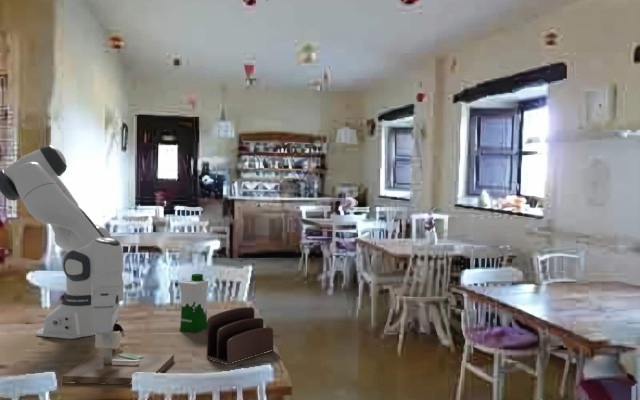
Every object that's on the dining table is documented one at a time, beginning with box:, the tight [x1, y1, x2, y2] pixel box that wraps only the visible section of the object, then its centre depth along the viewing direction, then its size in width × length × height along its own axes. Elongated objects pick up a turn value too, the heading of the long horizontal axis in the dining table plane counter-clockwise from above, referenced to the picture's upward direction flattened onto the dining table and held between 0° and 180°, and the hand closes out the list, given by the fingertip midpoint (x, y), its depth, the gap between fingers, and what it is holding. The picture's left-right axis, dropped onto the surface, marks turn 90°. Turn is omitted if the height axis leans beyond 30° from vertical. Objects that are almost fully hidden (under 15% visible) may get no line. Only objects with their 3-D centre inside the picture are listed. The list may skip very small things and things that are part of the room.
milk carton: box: [178, 273, 209, 334], centre depth 226 cm, size 9×9×20 cm
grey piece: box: [94, 331, 139, 364], centre depth 179 cm, size 12×2×9 cm, turn 87°
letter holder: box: [206, 306, 275, 364], centre depth 196 cm, size 10×20×14 cm, turn 140°
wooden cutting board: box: [62, 351, 175, 385], centre depth 179 cm, size 24×22×2 cm
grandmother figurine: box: [112, 315, 126, 353], centre depth 199 cm, size 8×4×13 cm, turn 92°
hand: (107, 342), depth 179 cm, fingers closed on grey piece, 2 cm apart
